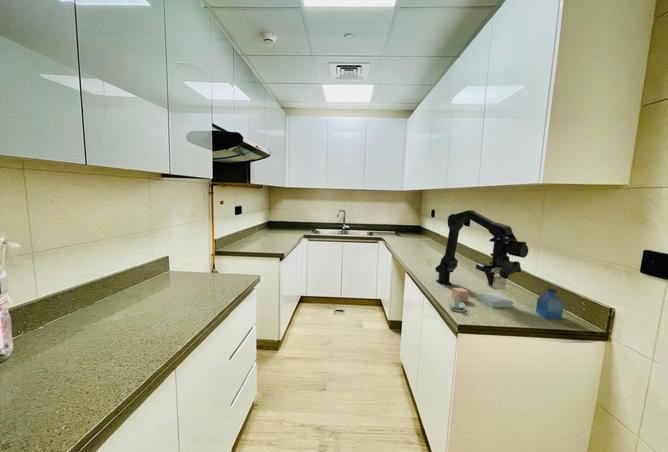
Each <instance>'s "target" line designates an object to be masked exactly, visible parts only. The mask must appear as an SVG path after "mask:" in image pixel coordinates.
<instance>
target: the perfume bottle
mask: <svg viewBox="0 0 668 452" xmlns="http://www.w3.org/2000/svg"><path fill="white" fill-rule="evenodd" d="M546 288H547V289H546V291H545V293H542V294H541V295H540V296H539V297H537V299H536V306H535V308H536V309H535V313H536V314H538V315H539V316H541V317H542V318H544V319H547V320H548V319H549V320H559V321H561V320H562V319H563V313H564V307H565V306H564V304H563V302H562V300H561V299H560V297H558V296H557V295H558V292H557V289H558V288H555V287H550V286H549V287H548V286H547V287H546Z"/></svg>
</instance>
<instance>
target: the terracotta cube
mask: <svg viewBox="0 0 668 452" xmlns="http://www.w3.org/2000/svg"><path fill="white" fill-rule="evenodd" d="M451 293H452V294H451V298H452V299H453V300H454V296H455V295H459V297H460V301H459V302H463V303H466V302H467V303H468V301H469V290H467V289H465V288H464V287H452V289H451Z"/></svg>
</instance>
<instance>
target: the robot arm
mask: <svg viewBox="0 0 668 452" xmlns="http://www.w3.org/2000/svg"><path fill="white" fill-rule="evenodd" d="M469 220H470V221H472V222H474V223H476V224H477V225H479V226H481V227H483V228H484V229H486V230H487V231H488V232H489V233H490V235H492V236H493V237H491V238H490V239H489V240H488V241H489V242H491V243H493V245H492V246H493V247H492V253H490V254H489V255H490V256H491V261H489V264H487V263H485V262H478V263H475V265H476V266H475V269H476V270H478V271H481V272H483V273H484V274H485V276H486V278H487V283H488V282H489V284H490V285H491V286H492V284H493V277H494V276H496V274H497V273H496V272H495V270H496V271H497V270H498V271H499V276H500V277H503V278H505V279H506V280H507V279H508V278H509V277H510V275H514V274H515V273H521V271H522V267H521V263H520V261H515V260H514V261H511V260H510V256H512V257H518V258H523V259H524V258H526V257H527V256H528V254H529V246H528V245H527V242H526V241H520V240H518V239H517V238H516V236H515V235H514V233H513V228H512V227H511V226H510V225H506V224H504V223H500V222H497V221H496V222H495V221H493V220H491V219H490V218H487V217H486V216H484V215H482V214H480V213H479V212H476V211H475V210H473V209H466V210H464V211H462V212H458V213H451V214H450V215H448V216H447V226H448V229H449V231H448V236H447V242H446V247H445V253H444V255H443V256H442V258H441V260H440V262H439V265H437V266H436V267H435V269H434V270H435V272H436V273H438V276H437V277H438V278H437V279H435V282H437V283H438V284H440V285H452V282H451V281H450V280H451V273H454V271H455V270H456V269H457V268H458V262H459V259H457V258H456V251H457V245H458V241H459V240H458V239H459V234H460V230H461V229H462V228H463V227H464V224H465V223H466V222H468V221H469Z"/></svg>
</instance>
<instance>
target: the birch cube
mask: <svg viewBox="0 0 668 452" xmlns="http://www.w3.org/2000/svg"><path fill="white" fill-rule="evenodd" d="M506 282H507V279H505V278H503V277H500V275H494V277H493V284H492V286H491V285H490V284H489V282H488V281H487V287H489V288H491V289H493V290H495V291H496V290H498V291H499V290H500V291H501V290H502V291H503V290H506V284H507V283H506Z"/></svg>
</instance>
